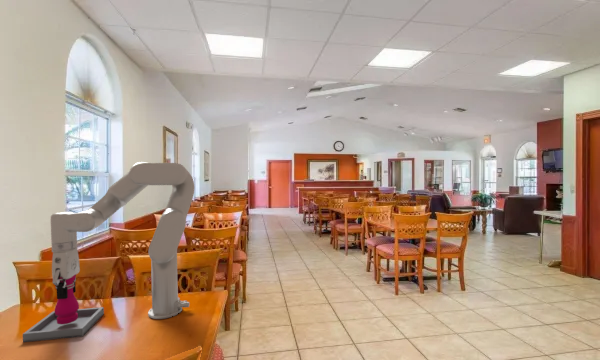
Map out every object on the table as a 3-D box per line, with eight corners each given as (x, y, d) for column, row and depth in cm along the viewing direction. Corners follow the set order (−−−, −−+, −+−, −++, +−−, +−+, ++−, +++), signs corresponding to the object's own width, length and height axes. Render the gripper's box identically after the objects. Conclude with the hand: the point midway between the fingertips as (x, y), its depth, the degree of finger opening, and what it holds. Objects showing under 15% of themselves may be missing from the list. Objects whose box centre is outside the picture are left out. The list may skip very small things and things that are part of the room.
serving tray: (103, 313, 129) (103, 307, 129) (82, 336, 111) (82, 328, 111) (53, 318, 126) (52, 311, 126) (22, 342, 108) (22, 334, 108)
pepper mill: (66, 325, 114) (64, 269, 114) (49, 324, 116) (47, 269, 115) (84, 316, 121) (82, 264, 121) (68, 315, 123) (65, 263, 122)
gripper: (63, 251, 110) (65, 303, 111) (86, 240, 127) (88, 286, 127) (38, 252, 109) (41, 306, 109) (65, 241, 126) (67, 288, 126)
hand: (66, 295), depth 118 cm, fingers closed on pepper mill, 5 cm apart
